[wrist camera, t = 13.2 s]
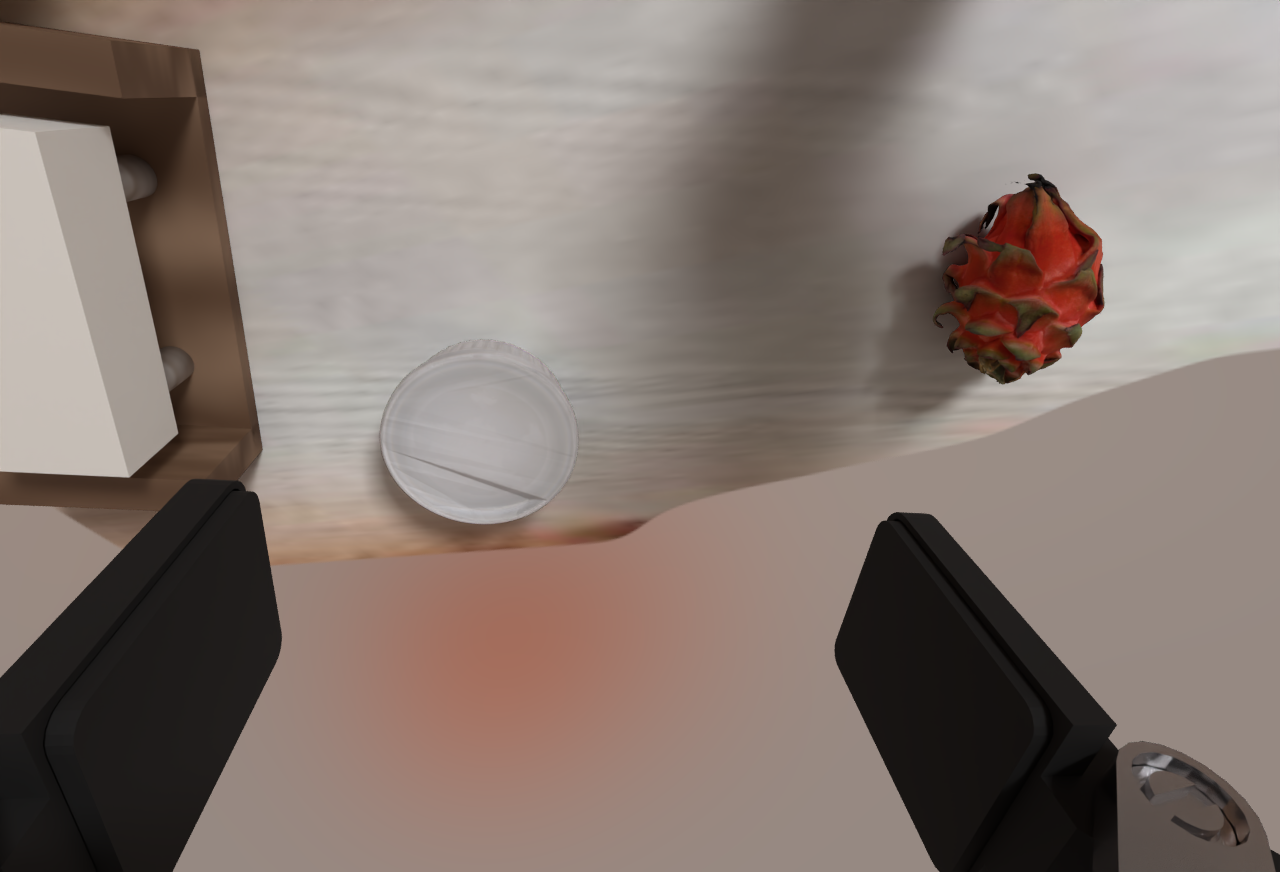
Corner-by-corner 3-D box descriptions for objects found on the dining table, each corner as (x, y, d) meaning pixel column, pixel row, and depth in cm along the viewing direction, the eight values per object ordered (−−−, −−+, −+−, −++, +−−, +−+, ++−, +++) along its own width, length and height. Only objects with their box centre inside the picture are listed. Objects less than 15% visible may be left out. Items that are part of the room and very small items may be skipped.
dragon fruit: (937, 362, 45) (959, 178, 41) (1083, 373, 41) (1123, 170, 37) (918, 395, 38) (942, 177, 34) (1090, 412, 34) (1141, 167, 30)
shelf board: (-52, 106, 27) (-157, 109, 23) (109, 126, 28) (34, 132, 24) (52, 426, 34) (-15, 470, 30) (178, 433, 35) (129, 477, 31)
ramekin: (425, 492, 44) (409, 539, 39) (375, 337, 39) (349, 371, 34) (588, 467, 44) (592, 511, 40) (561, 311, 39) (561, 341, 34)
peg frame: (-41, 15, 29) (-200, -4, 23) (199, 49, 31) (110, 40, 25) (86, 439, 39) (-1, 504, 33) (262, 449, 41) (210, 512, 35)
